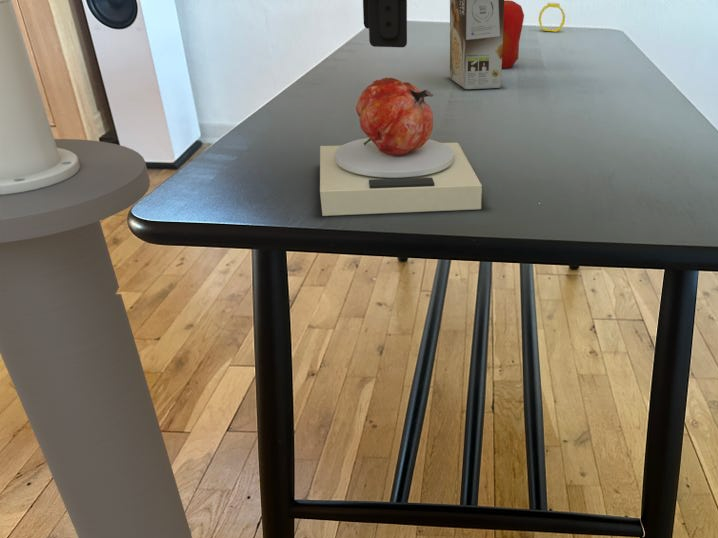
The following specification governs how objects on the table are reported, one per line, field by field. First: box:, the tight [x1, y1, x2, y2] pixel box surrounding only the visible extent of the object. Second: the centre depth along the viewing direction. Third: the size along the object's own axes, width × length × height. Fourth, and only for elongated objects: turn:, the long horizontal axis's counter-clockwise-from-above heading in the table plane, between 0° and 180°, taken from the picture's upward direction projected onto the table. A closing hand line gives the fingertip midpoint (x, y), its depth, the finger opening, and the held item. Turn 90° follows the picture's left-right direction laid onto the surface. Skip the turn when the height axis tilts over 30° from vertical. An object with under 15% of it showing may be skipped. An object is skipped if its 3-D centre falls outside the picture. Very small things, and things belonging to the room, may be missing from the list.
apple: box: [502, 0, 525, 69], centre depth 122 cm, size 9×8×12 cm
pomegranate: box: [355, 77, 434, 156], centre depth 68 cm, size 7×7×10 cm
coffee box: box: [449, 0, 505, 90], centre depth 108 cm, size 9×6×16 cm
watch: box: [538, 2, 566, 33], centre depth 160 cm, size 6×3×6 cm, turn 92°
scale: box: [319, 137, 483, 217], centre depth 70 cm, size 15×14×3 cm
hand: (384, 36), depth 64 cm, fingers open, 9 cm apart
